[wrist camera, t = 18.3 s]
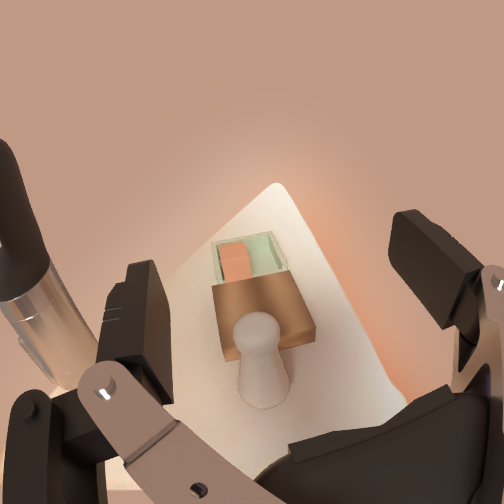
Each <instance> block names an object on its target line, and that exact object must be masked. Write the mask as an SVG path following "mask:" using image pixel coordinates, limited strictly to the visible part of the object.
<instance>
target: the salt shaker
mask: <svg viewBox="0 0 504 504" xmlns="http://www.w3.org/2000/svg"><path fill="white" fill-rule="evenodd" d="M233 340H234V342H235V344H236V346H237V348H238V350H239V351H241V357H240V369H239V382H238V391H239V393H240V395H241V397H242V399H243V401H245V402H246V403H248V404H249V405H251V406H252V407H257V408H261V409H264V410H266V409H269V408H271V407H274V406H276V405H278V404H280V403H281V402H282V401H283V400H284V399H285V397H286V395H287V393H288V392H289V377H288V375H287V372H286V369H285V367H284V364H283V361H282V358H281V356H280V353H279V350H278V347H277V345H278V344H279V342H280V326H279V323H278V322H277V321H276V319H275V318H274V317H273V316H271V315H269V314H268V313H264V312H252V313H247V314H245V315H244V316H242V317H240V318H239V319H238V320H237V321H236V323H235V324H234V327H233Z"/></svg>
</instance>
